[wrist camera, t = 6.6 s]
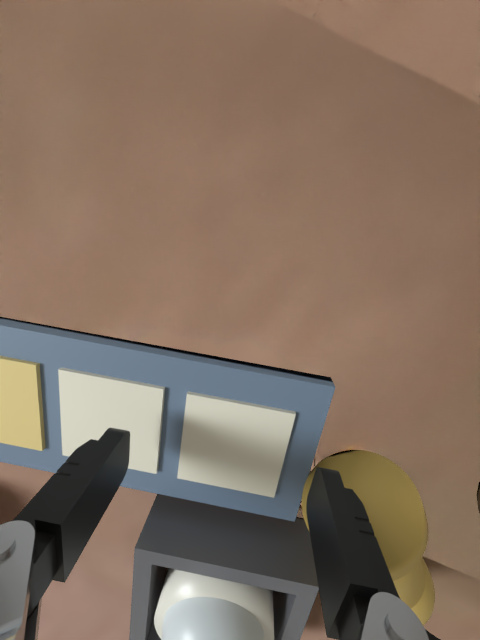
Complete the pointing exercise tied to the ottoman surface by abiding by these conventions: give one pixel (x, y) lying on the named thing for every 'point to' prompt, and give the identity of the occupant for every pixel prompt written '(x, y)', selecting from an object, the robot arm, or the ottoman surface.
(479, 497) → the wooden block set
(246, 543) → the base
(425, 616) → the pawn
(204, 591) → the dome
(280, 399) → the board
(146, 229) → the ottoman surface
